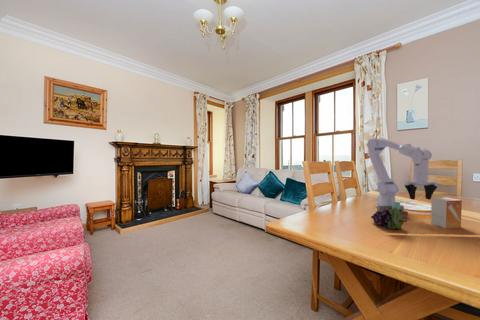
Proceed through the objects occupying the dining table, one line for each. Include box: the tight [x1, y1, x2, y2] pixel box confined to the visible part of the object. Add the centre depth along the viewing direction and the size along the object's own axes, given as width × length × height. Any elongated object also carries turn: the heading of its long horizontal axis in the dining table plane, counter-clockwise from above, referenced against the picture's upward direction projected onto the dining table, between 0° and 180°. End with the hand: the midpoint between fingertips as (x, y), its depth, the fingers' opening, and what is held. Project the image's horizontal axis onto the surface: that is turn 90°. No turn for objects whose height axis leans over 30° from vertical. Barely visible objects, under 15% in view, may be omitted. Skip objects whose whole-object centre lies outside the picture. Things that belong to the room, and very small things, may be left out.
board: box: [376, 204, 405, 212], centre depth 102 cm, size 18×13×5 cm
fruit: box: [370, 207, 408, 230], centre depth 90 cm, size 10×10×15 cm
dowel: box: [392, 201, 401, 211], centre depth 106 cm, size 3×3×6 cm
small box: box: [430, 196, 463, 229], centre depth 91 cm, size 8×6×13 cm
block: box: [385, 208, 409, 219], centre depth 106 cm, size 7×7×3 cm
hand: (420, 199), depth 104 cm, fingers open, 7 cm apart
